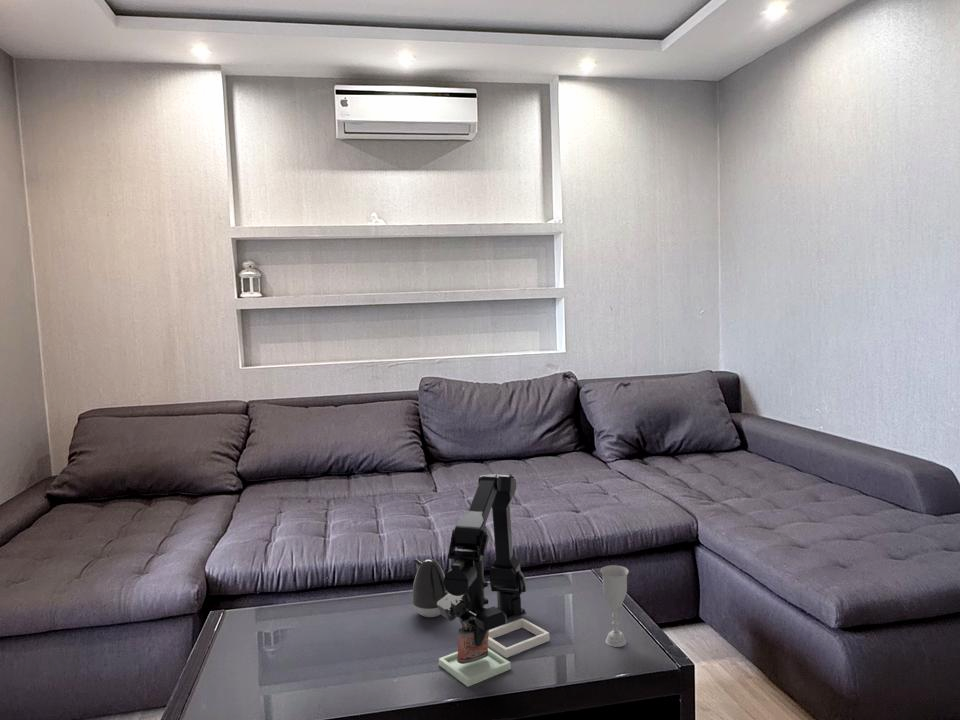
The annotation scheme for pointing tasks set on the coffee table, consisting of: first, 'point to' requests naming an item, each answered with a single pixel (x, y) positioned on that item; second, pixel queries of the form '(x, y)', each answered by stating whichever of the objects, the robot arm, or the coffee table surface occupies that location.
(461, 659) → the lighter
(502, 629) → the white picture frame
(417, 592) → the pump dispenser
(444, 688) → the coffee table surface
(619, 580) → the chalice
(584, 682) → the coffee table surface
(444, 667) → the tray
